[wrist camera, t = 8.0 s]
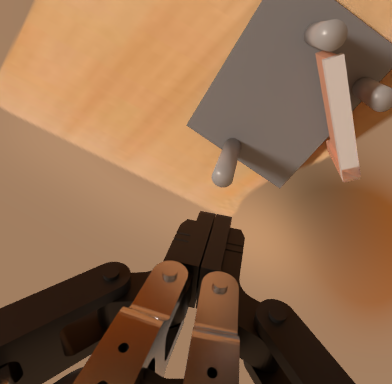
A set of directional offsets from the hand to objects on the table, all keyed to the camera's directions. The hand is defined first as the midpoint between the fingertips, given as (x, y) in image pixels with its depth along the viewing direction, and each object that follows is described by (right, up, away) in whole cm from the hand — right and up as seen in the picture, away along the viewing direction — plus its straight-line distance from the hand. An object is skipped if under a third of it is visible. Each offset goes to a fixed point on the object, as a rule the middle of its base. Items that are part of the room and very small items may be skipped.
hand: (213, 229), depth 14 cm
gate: (+13, +11, +17) cm, 24 cm away
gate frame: (+9, +13, +18) cm, 24 cm away
